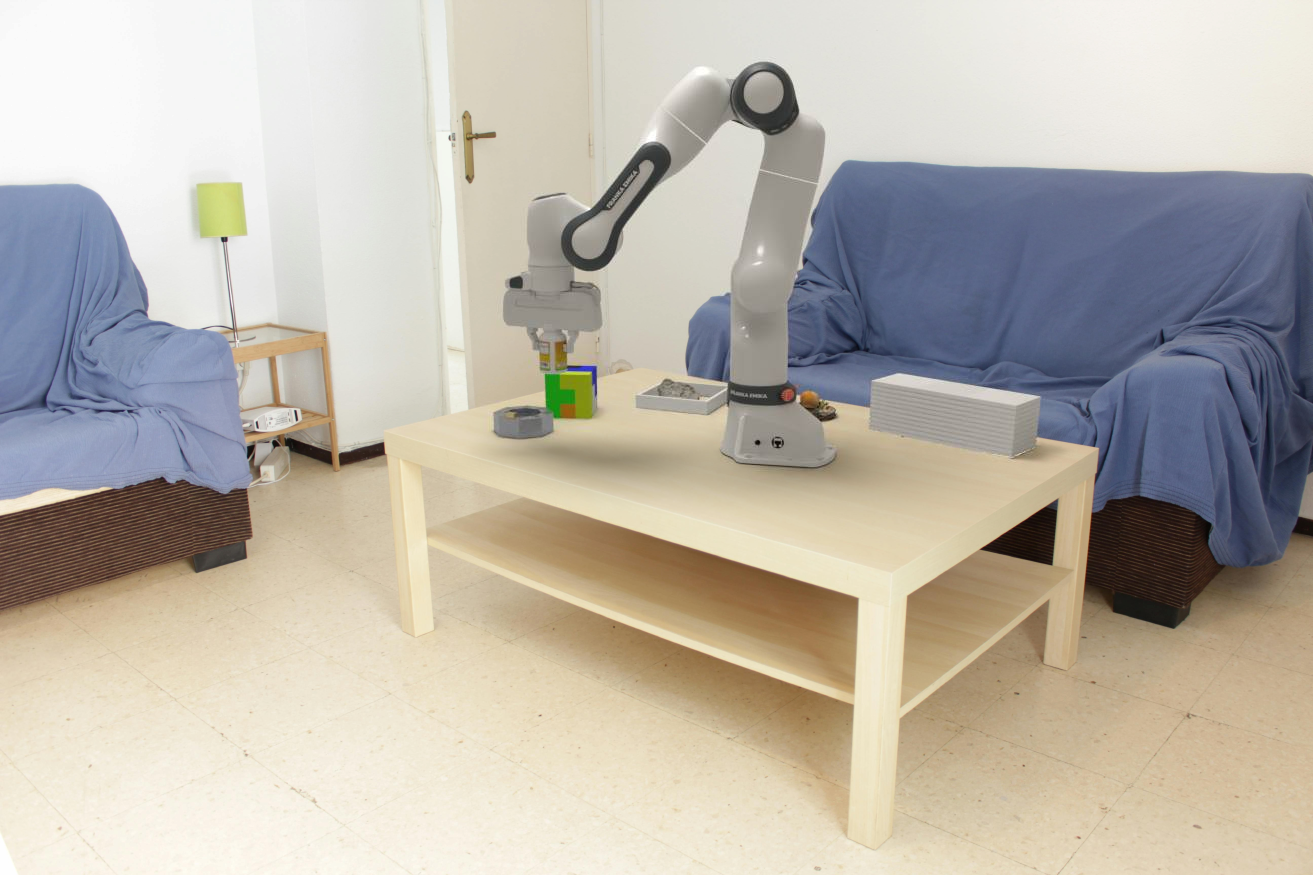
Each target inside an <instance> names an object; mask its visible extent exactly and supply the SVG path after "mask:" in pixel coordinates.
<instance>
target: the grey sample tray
mask: <svg viewBox="0 0 1313 875" xmlns="http://www.w3.org/2000/svg"><path fill="white" fill-rule="evenodd" d="M673 381H674V382H675V381H677V382H683V383H685V384H690V385H691V386H693V387H694V390H695V392H698V393H699V396H700V397H706V398H707V397H708V399H705V400H701V399H700V400H692V399H682V398H672V397H661V396H659V393H658V391H657V390H656V389H657V388H659V386H660V384H661V383H662V381H660V382H658V383H656V384H654V385H653V386H651V387H648V388H647V389H644V390H642V391H641V392H639V393H637V394H635V408H638V409H646V410H647V409H648V410H657V411H668V412H676V413H687V414H695V415H705V416H707V415H709V414H711V413H712V412H713V411H715V410H717V409H719V408H720V407H721V406H724V405H725V404H727V386H728V385H725V384H715V383H714V384H712V383H703V382H693V381H683V380H680V381H679V380H673Z"/></svg>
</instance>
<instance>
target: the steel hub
mask: <svg viewBox="0 0 1313 875" xmlns="http://www.w3.org/2000/svg"><path fill="white" fill-rule="evenodd" d="M492 414H493V416H492V417H493V430H494V431H493V432H495V433H496V434H497V436H498V437H501V438H502V437H503V438H510V439H518V440H521V439H532V438H541V437H542V438H543V437H544V436H546V435H548V434H550V433H552V432H554V431H555V430H554V428H555V427H554V426H555V425H554V418H553V412H552V411H551V410H549V409H548V408H547V407H546V406H537V405H528V404H527V405H519V406H518V405H516V406H506V407H503V408H500V409H497V410H496V411H493V413H492Z"/></svg>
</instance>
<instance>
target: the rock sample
mask: <svg viewBox="0 0 1313 875" xmlns="http://www.w3.org/2000/svg"><path fill="white" fill-rule="evenodd" d="M674 381H675V382H674ZM677 381H678V380H673V379H671V378H668V377H667V378H664V379H663V380H662V381H661V382H662V383H661V384H660V386H659V388H657V389H656V390H657V391H658V393H659V396H661V397H672V398H682V399H692V400H701V399H700V397H701V396H699V393H698V392H695V390H694V387H693V386H691V385H690V384H685V383H683V382H684V381H683V382H677Z"/></svg>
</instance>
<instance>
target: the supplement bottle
mask: <svg viewBox="0 0 1313 875" xmlns="http://www.w3.org/2000/svg"><path fill="white" fill-rule="evenodd" d="M541 329H542V331H543V332H542V333H540V334H539V336H538V338H539V351H538V352H539V354H538V355H539V356H538V357H539V371H540V373H541V374H544V375H545V374H560V373H565V372H566V371H567V365H568V353H564V352H563V349H564V348H563V344H566V343H567V342H568V339H567V335H566V334H565V333H564V332H563V330H558V329H554V328H553V326H552V324H544V327H543V328H541Z"/></svg>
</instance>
